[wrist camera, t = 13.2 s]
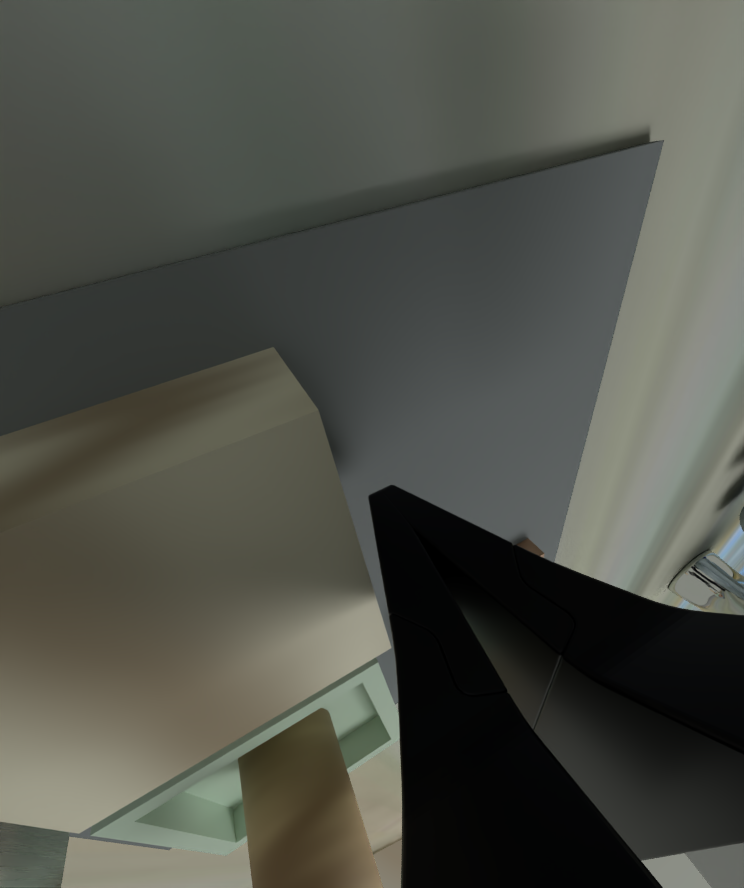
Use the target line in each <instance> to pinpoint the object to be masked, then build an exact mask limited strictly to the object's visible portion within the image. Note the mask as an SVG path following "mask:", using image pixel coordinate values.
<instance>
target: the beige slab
mask: <svg viewBox="0 0 744 888" xmlns="http://www.w3.org/2000/svg"><path fill="white" fill-rule="evenodd" d="M389 649H391V645H390V641H389V638H388V635H387V632H386V628H385V625H384V622H383V618H382V615H381V612H380V609H379V605H378V602H377V599H376V596H375V592H374V589H373V586H372V583H371V579H370V576H369V573H368V570H367V566H366V563H365V560H364V557H363V553H362V550H361V547H360V544H359V540H358V537H357V534H356V530H355V527H354V524H353V521H352V517H351V514H350V511H349V508H348V504H347V501H346V498H345V495H344V491H343V488H342V485H341V482H340V478H339V475H338V472H337V469H336V465H335V462H334V459H333V455H332V452H331V449H330V446H329V442H328V439H327V436H326V433H325V429H324V426H323V423H322V420H321V416H320V413H319V410H318V409H317V407H316V406H315V404H314V403H313V402H312V400H311V399H310V397H309V396H308V395H307V393H306V392H305V390H304V389H303V388H302V386H301V385H300V383H299V382H298V380H297V379H296V378H295V376H294V375H293V373H292V372H291V371H290V369H289V368H288V366H287V365H286V364H285V362H284V361H283V359H282V358H281V357H280V355H279V354H278V352H277V351H276V350H275V348H274V347H272V348H269V349H266V350H262V351H259V352H256V353H253V354H250V355H247V356H244V357H241V358H238V359H235V360H232V361H229V362H226V363H223V364H220V365H217V366H214V367H211V368H207V369H204V370H201V371H198V372H195V373H192V374H189V375H186V376H183V377H180V378H177V379H174V380H171V381H168V382H165V383H162V384H159V385H156V386H152V387H149V388H146V389H143V390H140V391H137V392H134V393H131V394H128V395H125V396H122V397H119V398H116V399H113V400H110V401H107V402H104V403H101V404H97V405H94V406H91V407H88V408H85V409H82V410H79V411H76V412H73V413H70V414H67V415H64V416H61V417H58V418H55V419H52V420H49V421H46V422H42V423H39V424H36V425H33V426H30V427H27V428H24V429H21V430H18V431H15V432H12V433H9V434H6V435H3V436H0V822H6V823H12V824H19V825H26V826H32V827H39V828H45V829H52V830H58V831H65V832H71V833H78V834H79V833H81V832H83V831H84V830H86V829H88V828H89V827H91V826H93V825H95V824H96V823H98V822H100V821H101V820H103V819H105V818H106V817H108V816H110V815H111V814H113V813H115V812H116V811H118V810H120V809H121V808H123V807H125V806H126V805H128V804H130V803H132V802H133V801H135V800H137V799H138V798H140V797H142V796H143V795H145V794H147V793H148V792H150V791H152V790H153V789H155V788H157V787H158V786H160V785H162V784H163V783H165V782H167V781H169V780H170V779H172V778H174V777H175V776H177V775H179V774H180V773H182V772H184V771H185V770H187V769H189V768H190V767H192V766H194V765H195V764H197V763H199V762H201V761H202V760H204V759H206V758H207V757H209V756H211V755H212V754H214V753H216V752H217V751H219V750H221V749H222V748H224V747H226V746H227V745H229V744H231V743H232V742H234V741H236V740H238V739H239V738H241V737H243V736H244V735H246V734H248V733H249V732H251V731H253V730H254V729H256V728H258V727H259V726H261V725H263V724H264V723H266V722H268V721H270V720H271V719H273V718H275V717H276V716H278V715H280V714H281V713H283V712H285V711H286V710H288V709H290V708H291V707H293V706H295V705H296V704H298V703H300V702H301V701H303V700H305V699H307V698H308V697H310V696H312V695H313V694H315V693H317V692H318V691H320V690H322V689H323V688H325V687H327V686H328V685H330V684H332V683H333V682H335V681H337V680H339V679H340V678H342V677H344V676H345V675H347V674H349V673H350V672H352V671H354V670H355V669H357V668H359V667H360V666H362V665H364V664H365V663H367V662H369V661H370V660H372V659H374V658H376V657H377V656H379V655H381V654H382V653H384V652H386V651H387V650H389Z"/></svg>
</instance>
